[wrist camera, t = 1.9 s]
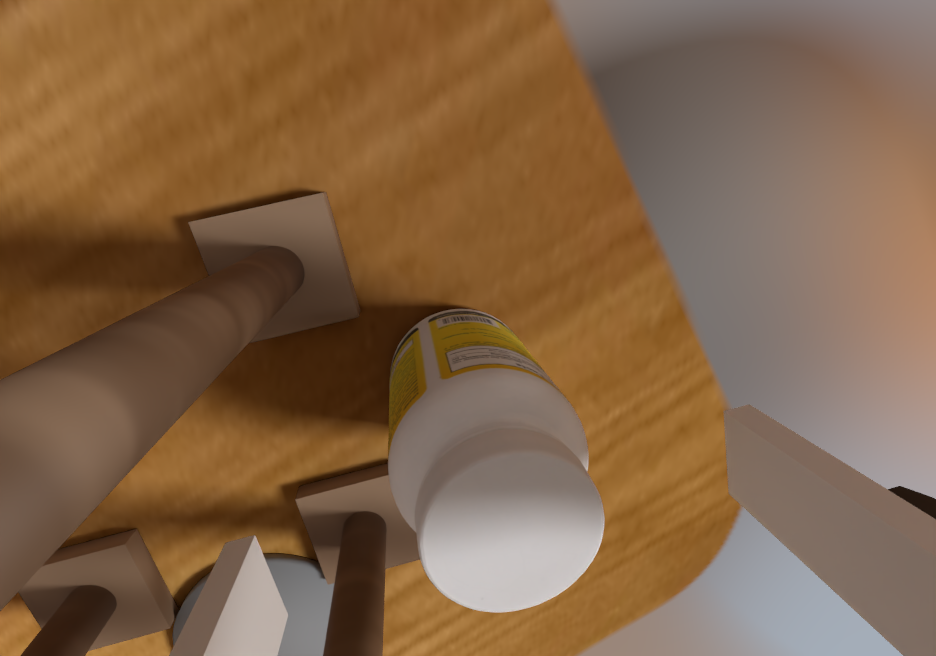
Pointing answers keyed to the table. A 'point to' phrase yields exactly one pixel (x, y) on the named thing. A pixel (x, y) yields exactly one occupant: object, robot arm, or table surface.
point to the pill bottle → (488, 465)
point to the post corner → (356, 553)
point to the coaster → (288, 604)
